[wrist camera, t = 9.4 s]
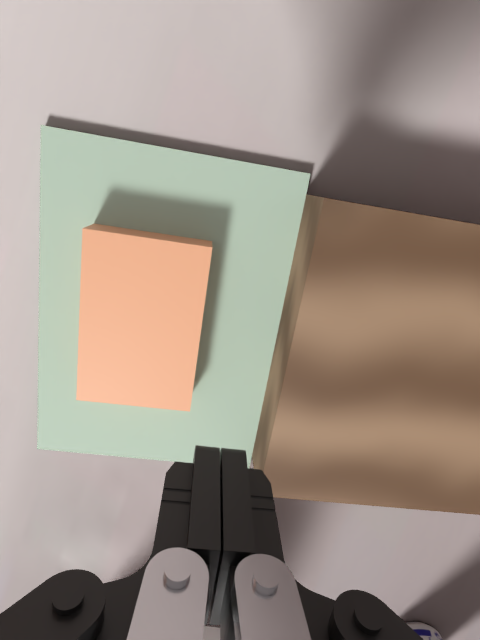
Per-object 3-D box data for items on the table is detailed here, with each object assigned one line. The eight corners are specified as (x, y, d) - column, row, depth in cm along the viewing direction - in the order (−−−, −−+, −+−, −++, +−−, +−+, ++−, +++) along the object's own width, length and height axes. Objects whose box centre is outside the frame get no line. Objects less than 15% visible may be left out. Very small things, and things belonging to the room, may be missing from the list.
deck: (304, 193, 22) (324, 197, 18) (545, 235, 23) (610, 247, 19) (251, 450, 27) (257, 496, 23) (452, 470, 28) (489, 515, 24)
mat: (44, 126, 20) (40, 124, 19) (308, 173, 21) (310, 173, 21) (40, 443, 25) (37, 448, 25) (248, 463, 27) (249, 468, 26)
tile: (212, 247, 20) (212, 241, 22) (82, 228, 19) (93, 223, 21) (190, 411, 22) (191, 393, 24) (76, 400, 22) (86, 382, 24)
